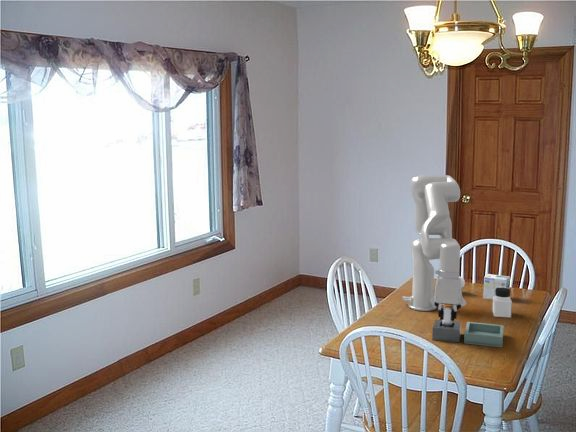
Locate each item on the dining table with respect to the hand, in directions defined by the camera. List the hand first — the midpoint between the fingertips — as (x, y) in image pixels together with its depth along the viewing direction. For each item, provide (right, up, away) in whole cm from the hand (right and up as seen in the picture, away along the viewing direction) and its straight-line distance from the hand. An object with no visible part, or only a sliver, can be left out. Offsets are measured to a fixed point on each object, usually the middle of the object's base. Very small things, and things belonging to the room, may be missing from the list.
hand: (447, 319), depth 258 cm
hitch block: (0, -7, +1) cm, 7 cm away
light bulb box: (+35, +1, +51) cm, 62 cm away
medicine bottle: (+30, -3, +28) cm, 41 cm away
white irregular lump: (+17, +3, +59) cm, 62 cm away
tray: (+14, -8, -1) cm, 16 cm away
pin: (0, -7, +1) cm, 7 cm away
